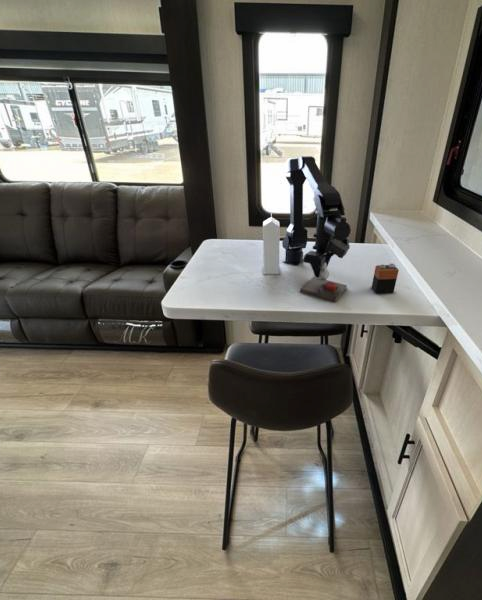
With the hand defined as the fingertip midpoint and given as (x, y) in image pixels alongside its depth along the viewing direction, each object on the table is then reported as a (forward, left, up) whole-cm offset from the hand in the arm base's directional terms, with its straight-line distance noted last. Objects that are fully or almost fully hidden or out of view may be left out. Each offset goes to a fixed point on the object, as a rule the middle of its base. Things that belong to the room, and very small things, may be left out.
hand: (320, 273), depth 108 cm
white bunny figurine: (0, 0, -2) cm, 2 cm away
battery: (+21, +8, -5) cm, 23 cm away
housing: (+3, -3, -5) cm, 6 cm away
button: (+6, -5, -2) cm, 8 cm away
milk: (-21, +1, -5) cm, 22 cm away
